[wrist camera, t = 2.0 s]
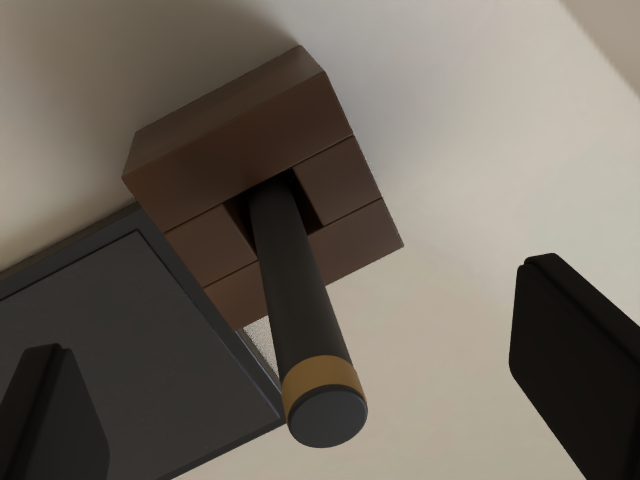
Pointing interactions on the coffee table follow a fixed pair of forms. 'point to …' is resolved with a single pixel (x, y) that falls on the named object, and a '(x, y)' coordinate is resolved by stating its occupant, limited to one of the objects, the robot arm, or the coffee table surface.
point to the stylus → (303, 324)
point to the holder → (259, 180)
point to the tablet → (141, 347)
